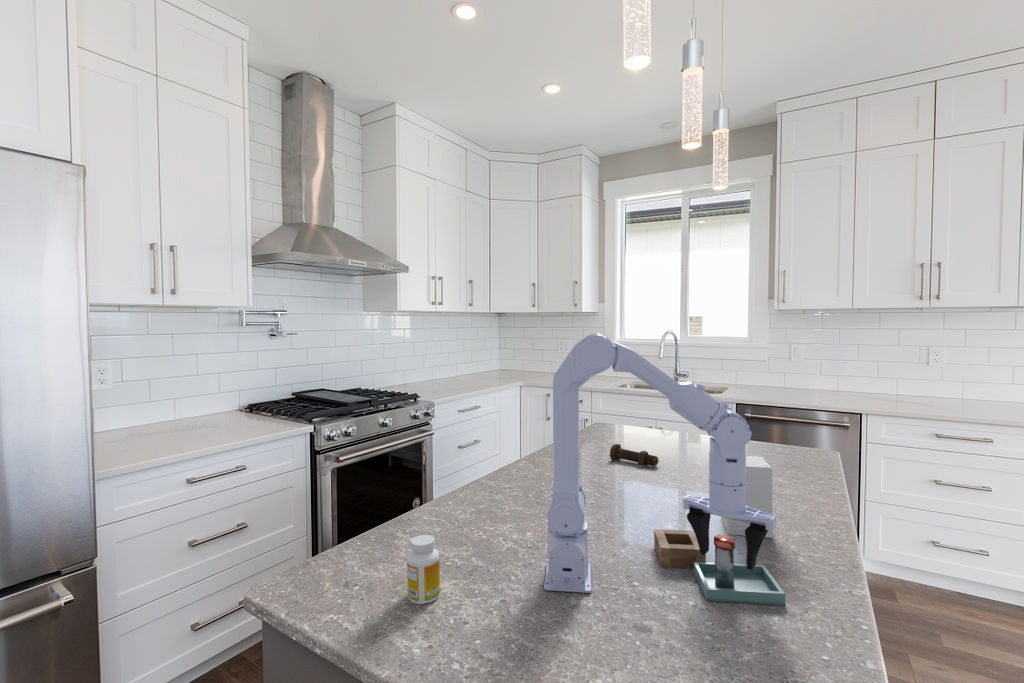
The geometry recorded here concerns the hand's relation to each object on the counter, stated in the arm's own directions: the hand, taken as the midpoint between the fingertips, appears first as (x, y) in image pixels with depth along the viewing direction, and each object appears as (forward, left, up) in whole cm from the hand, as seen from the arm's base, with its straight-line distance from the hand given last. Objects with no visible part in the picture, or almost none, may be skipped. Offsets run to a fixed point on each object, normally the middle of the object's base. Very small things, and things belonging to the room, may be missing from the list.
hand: (727, 559), depth 82 cm
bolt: (+72, +8, -5) cm, 72 cm away
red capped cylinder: (0, 0, -4) cm, 4 cm away
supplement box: (+25, -11, -5) cm, 28 cm away
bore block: (+10, +6, -5) cm, 13 cm away
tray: (0, -2, -5) cm, 5 cm away
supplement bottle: (-8, +51, -5) cm, 52 cm away
